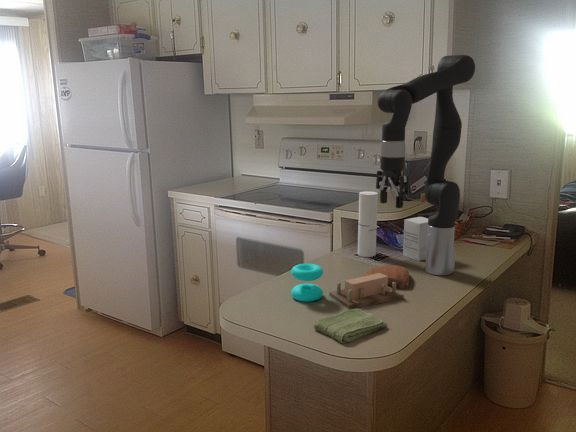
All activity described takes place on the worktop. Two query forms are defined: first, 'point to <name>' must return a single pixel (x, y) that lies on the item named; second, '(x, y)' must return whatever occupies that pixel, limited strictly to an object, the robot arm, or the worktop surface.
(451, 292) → the worktop surface
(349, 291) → the drying rack
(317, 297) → the donuts
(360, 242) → the cylindrical container
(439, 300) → the worktop surface
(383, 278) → the pinkish tan rectangular block
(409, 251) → the supplement box
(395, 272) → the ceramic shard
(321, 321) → the washcloth
